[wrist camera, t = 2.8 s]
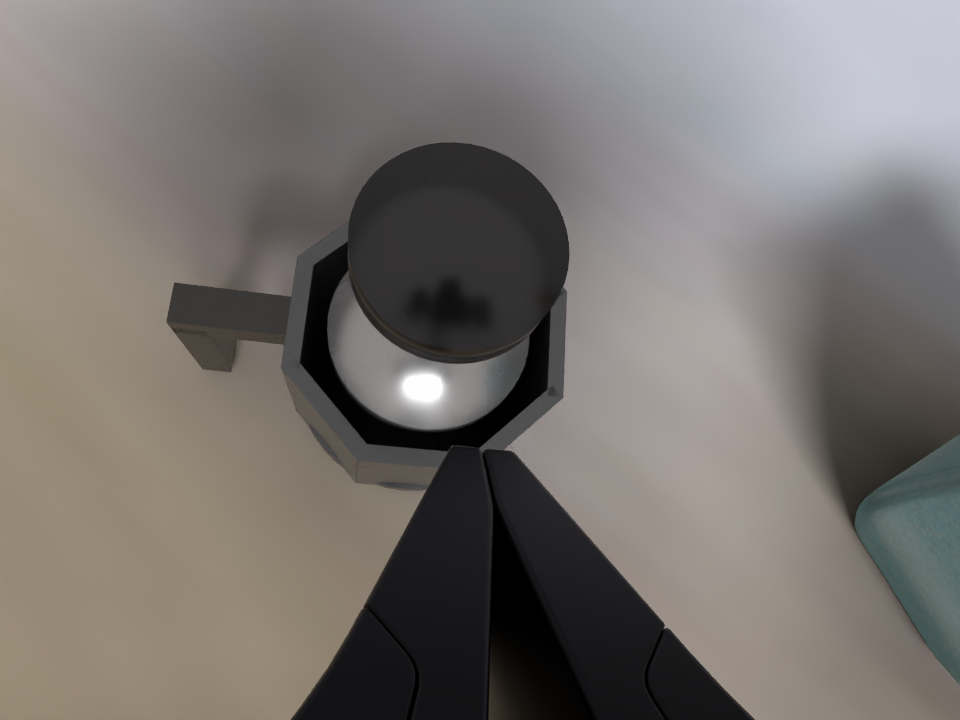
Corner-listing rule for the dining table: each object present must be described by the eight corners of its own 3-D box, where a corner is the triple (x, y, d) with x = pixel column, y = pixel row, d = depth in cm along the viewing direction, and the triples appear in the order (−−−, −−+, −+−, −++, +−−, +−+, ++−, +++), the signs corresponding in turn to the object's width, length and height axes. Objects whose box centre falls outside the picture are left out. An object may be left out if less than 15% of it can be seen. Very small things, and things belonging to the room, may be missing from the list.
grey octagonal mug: (517, 499, 22) (564, 483, 17) (186, 472, 20) (136, 445, 16) (528, 286, 24) (572, 218, 19) (226, 247, 22) (193, 163, 18)
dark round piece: (518, 442, 18) (592, 391, 12) (315, 423, 17) (299, 360, 12) (528, 258, 19) (598, 141, 14) (340, 233, 19) (336, 99, 13)
